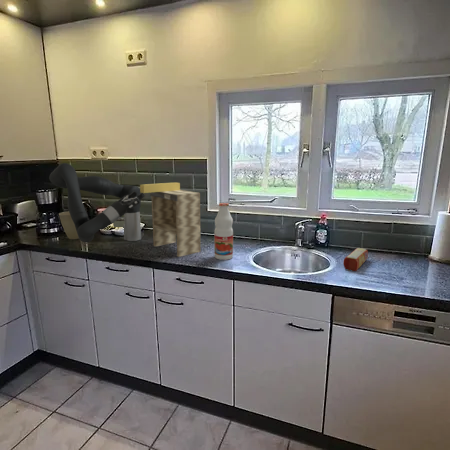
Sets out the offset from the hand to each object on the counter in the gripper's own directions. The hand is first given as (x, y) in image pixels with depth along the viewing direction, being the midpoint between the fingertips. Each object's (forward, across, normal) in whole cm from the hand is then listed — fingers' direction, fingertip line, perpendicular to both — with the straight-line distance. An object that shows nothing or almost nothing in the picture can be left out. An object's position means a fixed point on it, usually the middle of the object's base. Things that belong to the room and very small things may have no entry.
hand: (139, 193), depth 163 cm
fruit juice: (+8, -34, +41) cm, 54 cm away
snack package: (+43, -84, +62) cm, 114 cm away
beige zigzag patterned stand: (-1, -6, +36) cm, 37 cm away
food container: (-6, +48, +33) cm, 59 cm away
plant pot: (-31, +55, +19) cm, 66 cm away
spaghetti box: (+11, 0, +6) cm, 13 cm away
